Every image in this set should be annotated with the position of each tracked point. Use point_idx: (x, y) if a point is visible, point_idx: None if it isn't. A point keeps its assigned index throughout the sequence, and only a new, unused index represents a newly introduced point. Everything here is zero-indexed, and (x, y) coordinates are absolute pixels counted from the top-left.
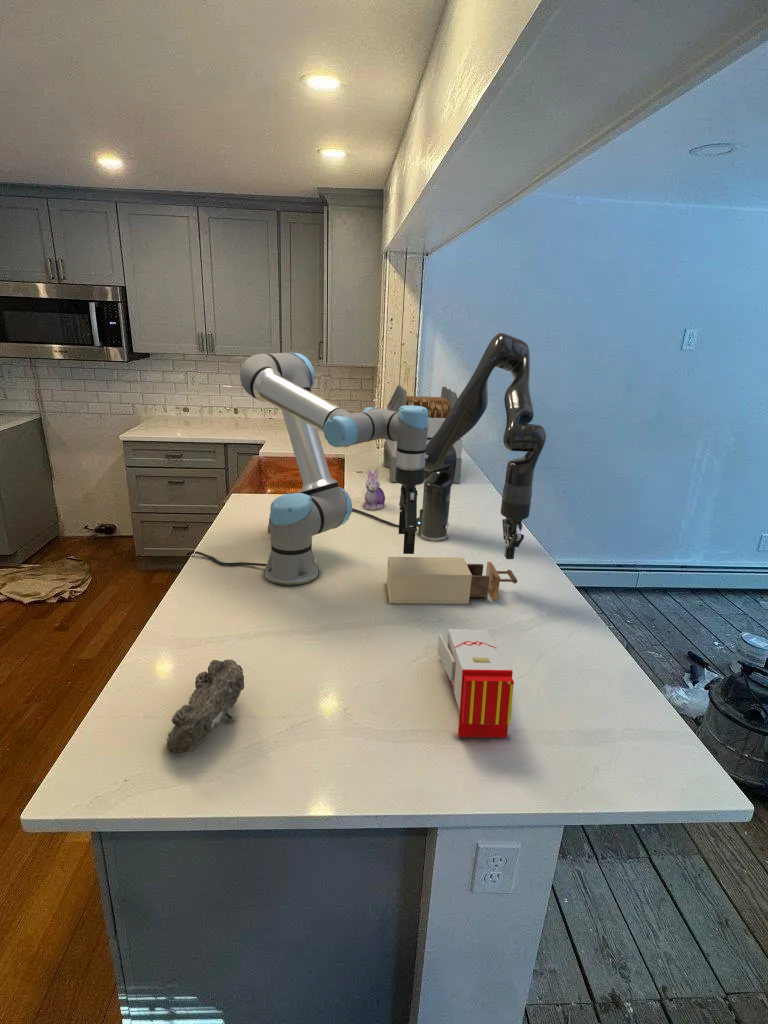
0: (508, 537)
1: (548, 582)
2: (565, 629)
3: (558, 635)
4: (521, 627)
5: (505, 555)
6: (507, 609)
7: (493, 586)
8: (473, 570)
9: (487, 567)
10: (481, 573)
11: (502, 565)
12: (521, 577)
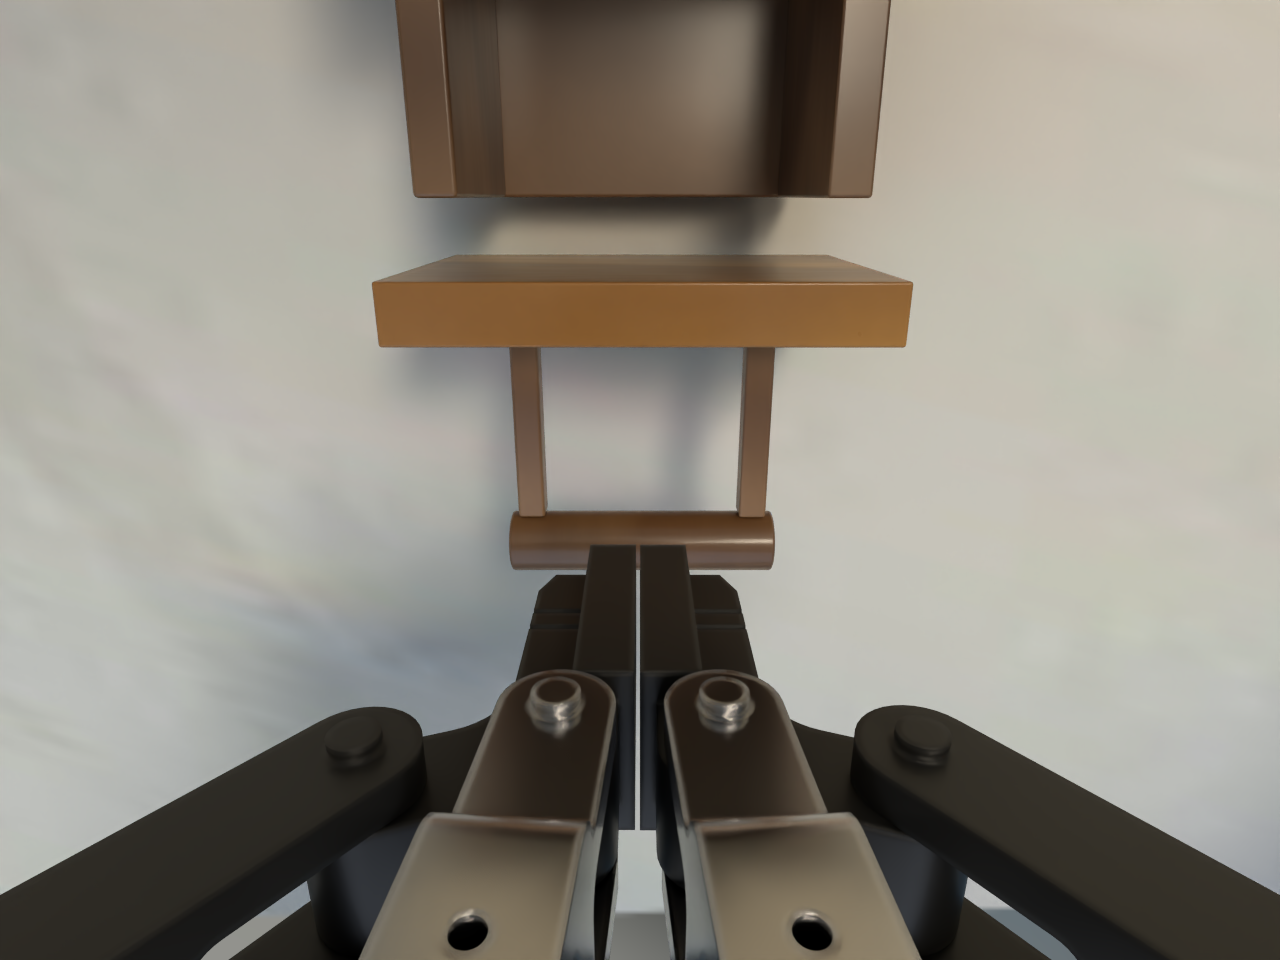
0: (405, 893)
1: None
2: (107, 718)
3: (2, 647)
4: (49, 403)
5: (632, 557)
6: (352, 366)
7: (469, 265)
8: (819, 42)
9: (846, 274)
10: (800, 181)
11: (1250, 554)
12: (969, 652)
